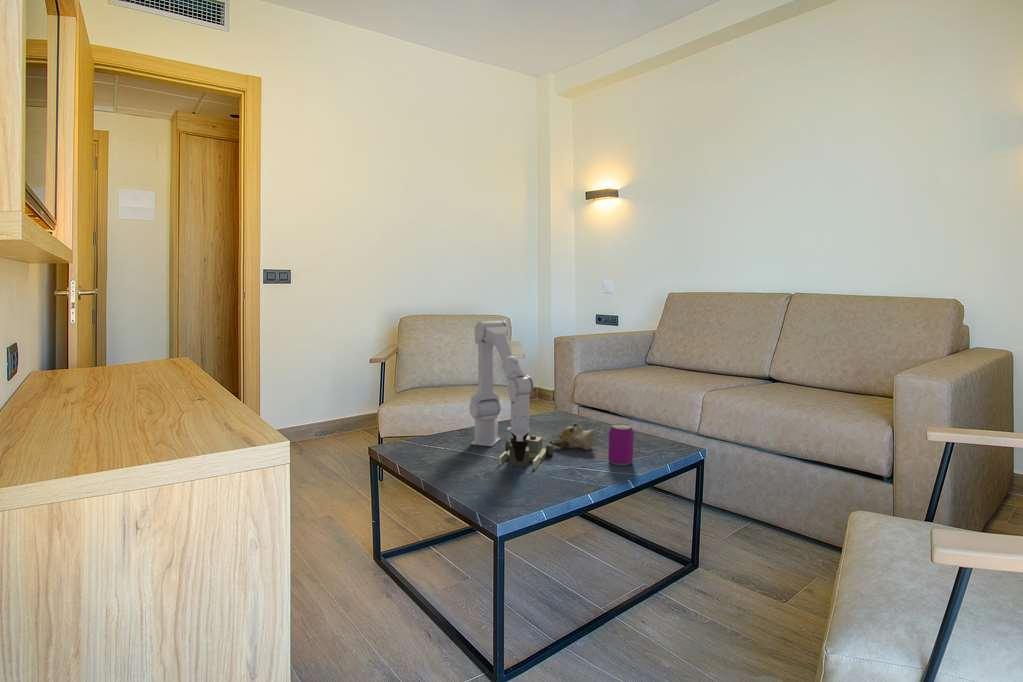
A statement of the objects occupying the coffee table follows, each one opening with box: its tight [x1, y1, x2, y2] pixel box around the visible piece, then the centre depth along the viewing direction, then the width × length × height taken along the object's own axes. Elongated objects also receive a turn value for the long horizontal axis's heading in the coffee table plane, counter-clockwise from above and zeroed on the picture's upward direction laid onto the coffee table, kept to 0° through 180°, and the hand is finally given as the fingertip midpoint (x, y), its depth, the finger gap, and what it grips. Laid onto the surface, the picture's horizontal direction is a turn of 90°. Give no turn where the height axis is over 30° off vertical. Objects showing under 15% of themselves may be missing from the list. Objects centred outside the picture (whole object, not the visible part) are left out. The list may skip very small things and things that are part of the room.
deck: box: [498, 434, 555, 470], centre depth 184 cm, size 16×16×6 cm
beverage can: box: [607, 422, 635, 466], centre depth 181 cm, size 8×8×12 cm
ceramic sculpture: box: [549, 423, 596, 451], centre depth 196 cm, size 11×9×15 cm
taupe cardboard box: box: [508, 442, 530, 467], centre depth 179 cm, size 4×6×6 cm, turn 89°
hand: (519, 456), depth 180 cm, fingers open, 7 cm apart
